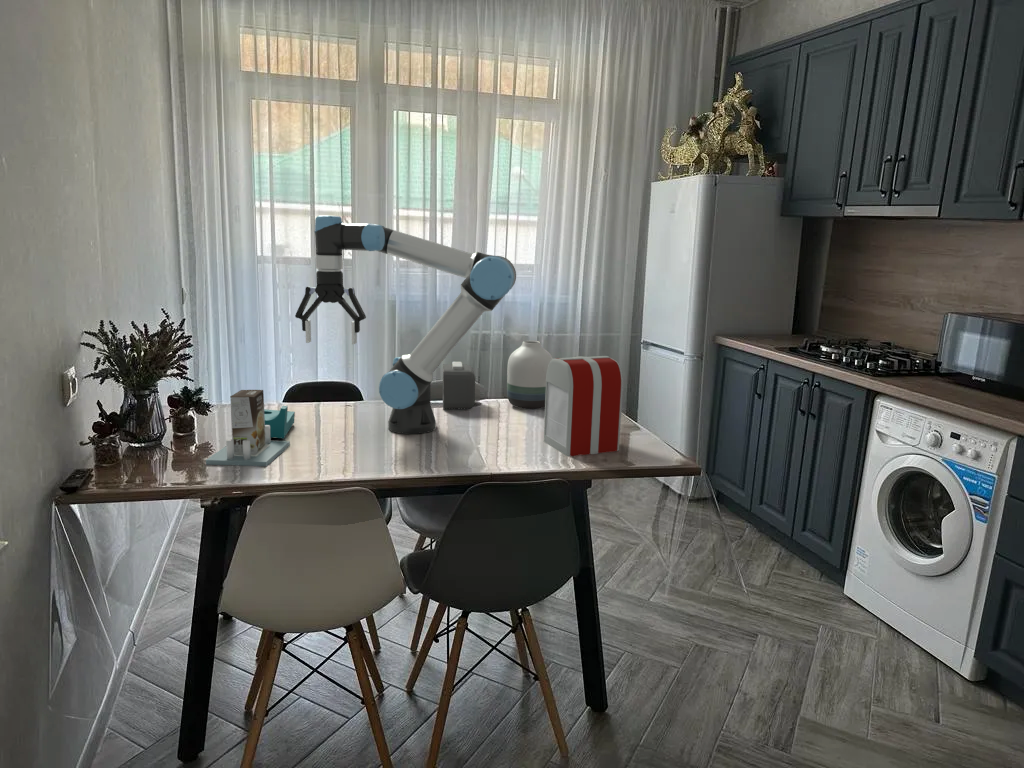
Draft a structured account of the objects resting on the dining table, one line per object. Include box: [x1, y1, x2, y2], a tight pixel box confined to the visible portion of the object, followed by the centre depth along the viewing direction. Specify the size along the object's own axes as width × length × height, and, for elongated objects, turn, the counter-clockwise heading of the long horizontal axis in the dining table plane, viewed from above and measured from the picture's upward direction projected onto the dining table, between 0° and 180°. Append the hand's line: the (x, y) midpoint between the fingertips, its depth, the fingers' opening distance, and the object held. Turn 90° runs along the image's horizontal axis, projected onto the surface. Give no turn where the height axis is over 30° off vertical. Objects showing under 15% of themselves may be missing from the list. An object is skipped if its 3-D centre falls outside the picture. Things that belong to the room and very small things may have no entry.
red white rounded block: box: [543, 355, 624, 457], centre depth 207 cm, size 16×18×27 cm
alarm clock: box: [442, 361, 476, 410], centre depth 254 cm, size 16×11×16 cm
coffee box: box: [229, 389, 266, 454], centre depth 192 cm, size 9×6×16 cm
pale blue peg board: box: [205, 425, 291, 467], centre depth 193 cm, size 16×19×6 cm
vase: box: [506, 340, 554, 410], centre depth 255 cm, size 17×17×24 cm
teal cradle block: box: [264, 405, 296, 439], centre depth 214 cm, size 18×11×10 cm, turn 8°
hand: (331, 343), depth 207 cm, fingers open, 13 cm apart
